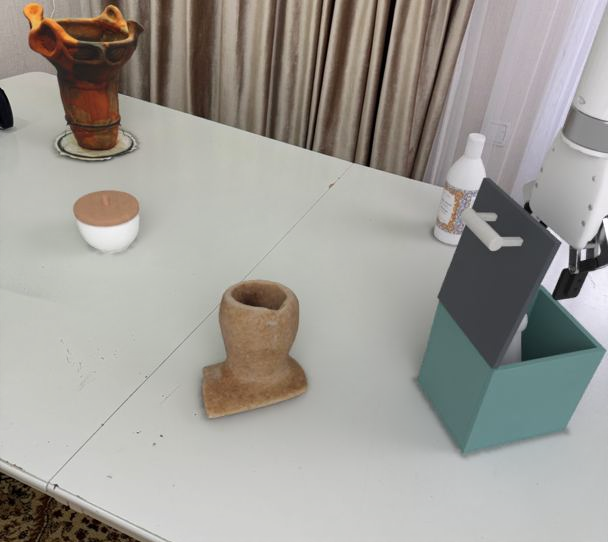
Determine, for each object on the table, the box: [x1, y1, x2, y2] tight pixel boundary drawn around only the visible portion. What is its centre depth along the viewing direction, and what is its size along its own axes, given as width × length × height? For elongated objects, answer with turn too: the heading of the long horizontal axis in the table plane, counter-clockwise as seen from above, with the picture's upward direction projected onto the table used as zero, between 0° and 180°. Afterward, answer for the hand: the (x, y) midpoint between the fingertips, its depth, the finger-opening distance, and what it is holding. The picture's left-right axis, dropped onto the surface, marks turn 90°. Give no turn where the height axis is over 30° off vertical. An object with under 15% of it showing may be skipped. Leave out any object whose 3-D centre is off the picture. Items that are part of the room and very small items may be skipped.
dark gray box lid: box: [436, 177, 563, 369], centre depth 68 cm, size 16×14×5 cm
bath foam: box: [433, 132, 487, 246], centre depth 113 cm, size 7×7×20 cm
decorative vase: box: [22, 2, 145, 161], centre depth 130 cm, size 21×23×28 cm
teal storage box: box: [417, 284, 607, 454], centre depth 82 cm, size 16×14×15 cm
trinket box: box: [72, 189, 141, 254], centre depth 107 cm, size 11×11×9 cm
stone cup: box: [201, 279, 309, 419], centre depth 81 cm, size 15×12×15 cm
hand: (545, 277), depth 72 cm, fingers open, 6 cm apart
